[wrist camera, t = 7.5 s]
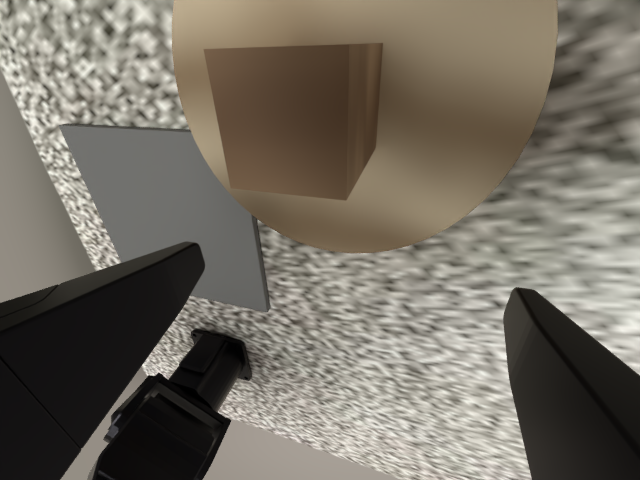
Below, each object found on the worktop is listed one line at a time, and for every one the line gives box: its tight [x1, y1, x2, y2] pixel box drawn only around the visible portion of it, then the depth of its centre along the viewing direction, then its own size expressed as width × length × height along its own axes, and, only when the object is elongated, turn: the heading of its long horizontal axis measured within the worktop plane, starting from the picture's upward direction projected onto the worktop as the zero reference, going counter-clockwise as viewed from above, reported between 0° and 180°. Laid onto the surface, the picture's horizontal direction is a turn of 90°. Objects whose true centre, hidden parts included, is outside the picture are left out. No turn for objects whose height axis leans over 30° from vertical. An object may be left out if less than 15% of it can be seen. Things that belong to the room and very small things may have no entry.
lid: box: [172, 0, 558, 253], centre depth 10 cm, size 14×14×6 cm
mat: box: [59, 124, 270, 312], centre depth 27 cm, size 16×16×1 cm
